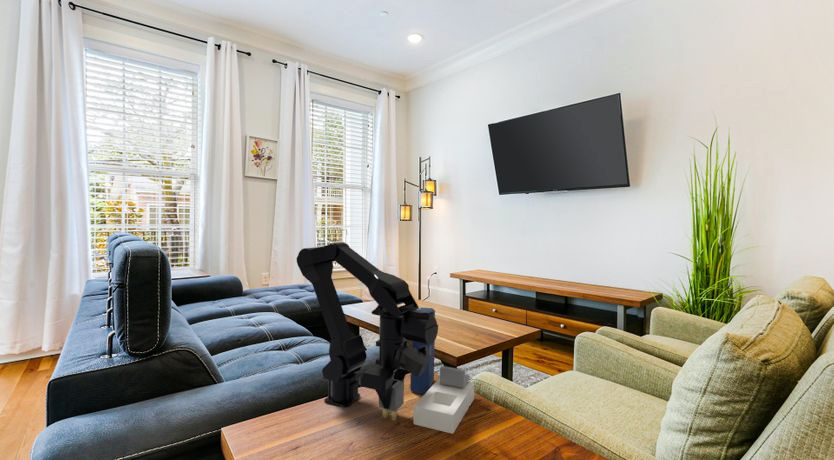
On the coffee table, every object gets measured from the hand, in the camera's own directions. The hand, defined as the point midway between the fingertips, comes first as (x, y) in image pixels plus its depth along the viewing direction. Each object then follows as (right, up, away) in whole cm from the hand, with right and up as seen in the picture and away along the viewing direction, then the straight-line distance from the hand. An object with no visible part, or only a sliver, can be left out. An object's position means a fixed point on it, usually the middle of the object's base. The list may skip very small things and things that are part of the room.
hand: (391, 403), depth 88 cm
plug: (0, -3, 0) cm, 3 cm away
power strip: (+13, -3, +3) cm, 13 cm away
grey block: (+15, +2, +9) cm, 18 cm away
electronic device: (+7, -3, +16) cm, 18 cm away
